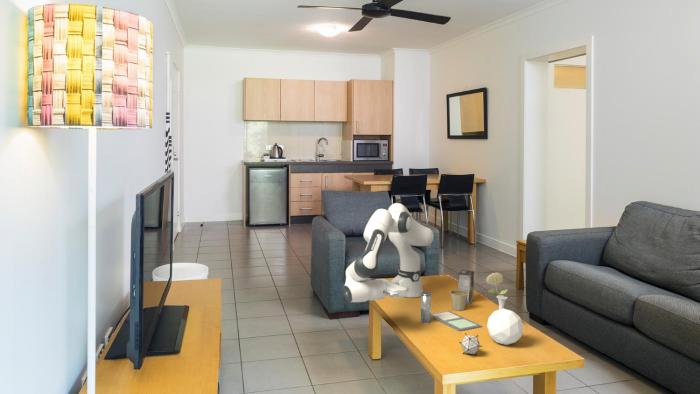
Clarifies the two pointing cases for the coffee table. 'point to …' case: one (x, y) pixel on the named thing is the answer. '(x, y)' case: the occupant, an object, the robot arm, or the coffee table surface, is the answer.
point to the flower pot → (458, 299)
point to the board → (455, 321)
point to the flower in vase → (495, 280)
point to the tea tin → (425, 307)
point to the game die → (470, 344)
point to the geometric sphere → (505, 326)
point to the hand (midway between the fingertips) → (404, 286)
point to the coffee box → (466, 283)
